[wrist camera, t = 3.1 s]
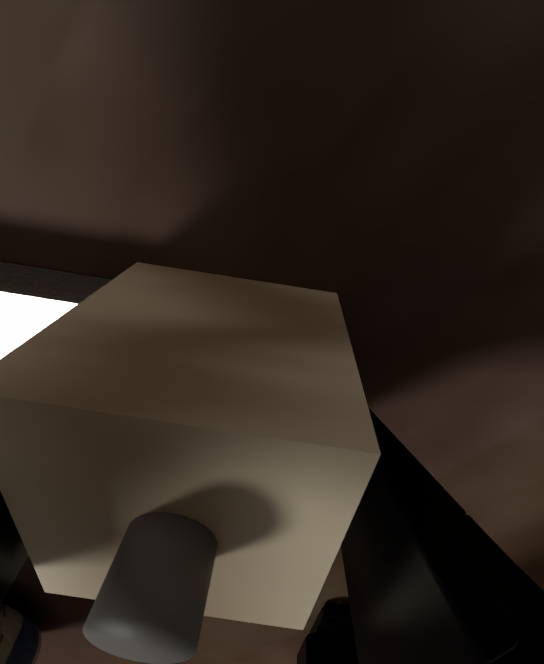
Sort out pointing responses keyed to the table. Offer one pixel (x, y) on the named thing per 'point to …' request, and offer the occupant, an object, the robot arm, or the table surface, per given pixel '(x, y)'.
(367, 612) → the robot arm
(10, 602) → the table surface
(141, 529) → the block
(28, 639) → the canister
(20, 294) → the plate
